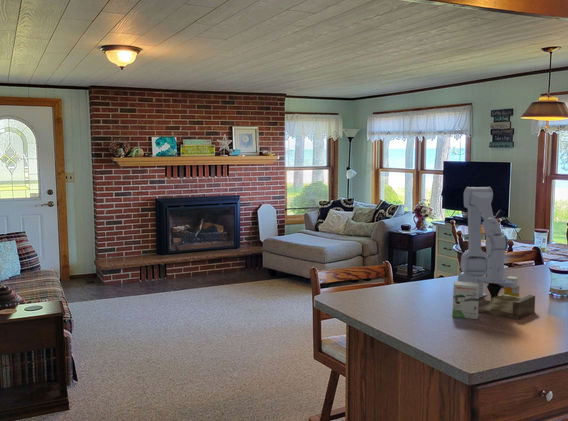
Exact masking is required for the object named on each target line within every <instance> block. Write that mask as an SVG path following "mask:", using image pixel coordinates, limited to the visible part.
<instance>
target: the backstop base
mask: <svg viewBox="0 0 568 421" xmlns="http://www.w3.org/2000/svg"><path fill="white" fill-rule="evenodd" d="M490 303H491V300H487V299H481V300H479V304H478V313H479V312H480V313H484V314H487V315H492V316H498V317H502V318H507V319H513V320H517V321H518V320H521V319H523V318H525V317H527V316H529V315H532V314H533V313H534V314H535V309H536V295H532V294H528V295H527V296H523V297H521V299H518V300H516V301H514V302H513V314H512V313H507V312H502V311H497V310H492V309H490Z"/></svg>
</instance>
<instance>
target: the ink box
mask: <svg viewBox="0 0 568 421" xmlns="http://www.w3.org/2000/svg"><path fill="white" fill-rule="evenodd" d="M452 293H453V294H452V311H451V312H452V317H453V318H462V319H463V318H464V319H474V320H479V319H478V318H479V312H478V304H479V301H480V300H479V299H480V298H479V284H478V283H472V282H460V281H458V280H456V281H453V292H452Z"/></svg>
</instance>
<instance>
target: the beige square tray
mask: <svg viewBox="0 0 568 421" xmlns="http://www.w3.org/2000/svg"><path fill="white" fill-rule="evenodd" d="M521 298H522V297H521V296H519V297H516V296H510V295H504V293H501V294H498V296H495V297H493V298H491V297H490V301H491V303H490V309H492V310H497V311H502V312H507V313H512V314H513V302H514V301H516V300H518V299H521Z"/></svg>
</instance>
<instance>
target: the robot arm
mask: <svg viewBox="0 0 568 421" xmlns="http://www.w3.org/2000/svg"><path fill="white" fill-rule="evenodd" d="M493 197H494V192H493V189H492V187H491V186H479V187H478V186H477V187H476V186H471V187H470V186H466V188H465V189H464V191H463V207H464V208H466V209H467V231H468V232H467V236H468V241H467V242H468V247H467V248H468V249H466V250H465V251H464V252H463V253H462V254H461V256H460V257H461V258H460V263H459V264H460V270H461V272H460V273H459V275H458V277H457V281H460V282H472V283H478V284H479V299H480V298H482V297H486V296H488V294H487V293H485V292H484V284H488V285H487V286H486V289H487V290H488V292H489V294H490V299H491V298H493V297H495V296H498V295H499V293H500V291H501V289H502V288H503V287H504V286H505V287H511V288H516V282H512V281H508V280H507V279H504V276H505V274H504V273H505V253H506V252H505V251H507V250H508V247H509V240H508V236H507V235H506V234H505V232H502V229H501V226H500V222H499V220H498V219H497V218H495V217H494V212H493V207H492V202H493V199H494V198H493ZM481 217H482V219H483V221H481V220H482V219H481ZM481 222H482V223H481ZM482 228H483V232H484V235H485V243H484V244H485V249H486V250H485V251H486V252H485V251H483V250H482ZM486 272H487V277H486Z"/></svg>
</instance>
